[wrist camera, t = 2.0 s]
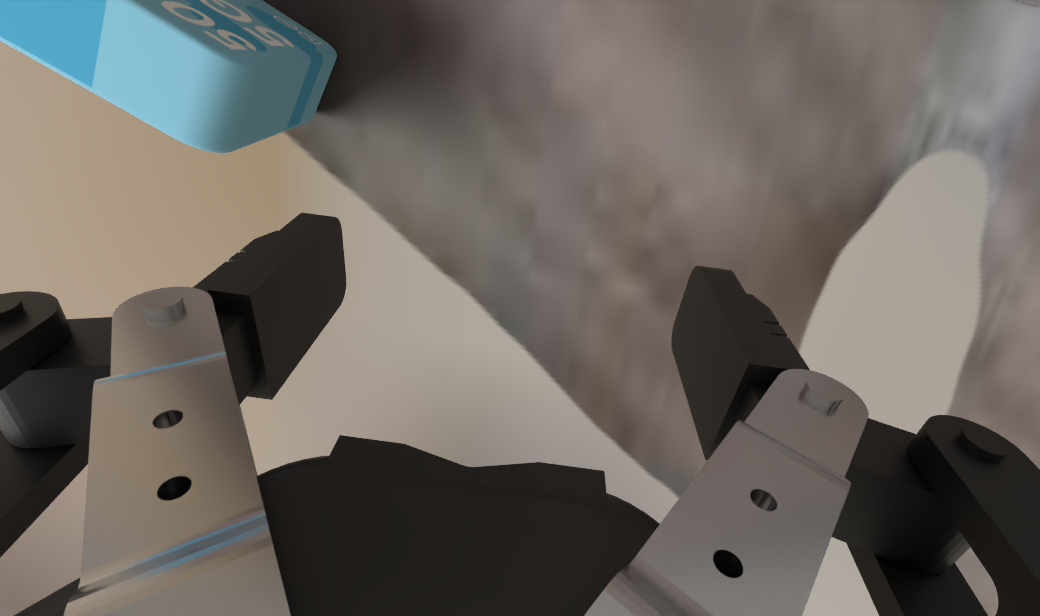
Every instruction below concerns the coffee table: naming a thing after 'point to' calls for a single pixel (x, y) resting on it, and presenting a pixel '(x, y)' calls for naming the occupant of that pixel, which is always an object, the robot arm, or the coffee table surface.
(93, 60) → the data package
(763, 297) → the coffee table surface
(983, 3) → the coffee table surface
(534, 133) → the coffee table surface
